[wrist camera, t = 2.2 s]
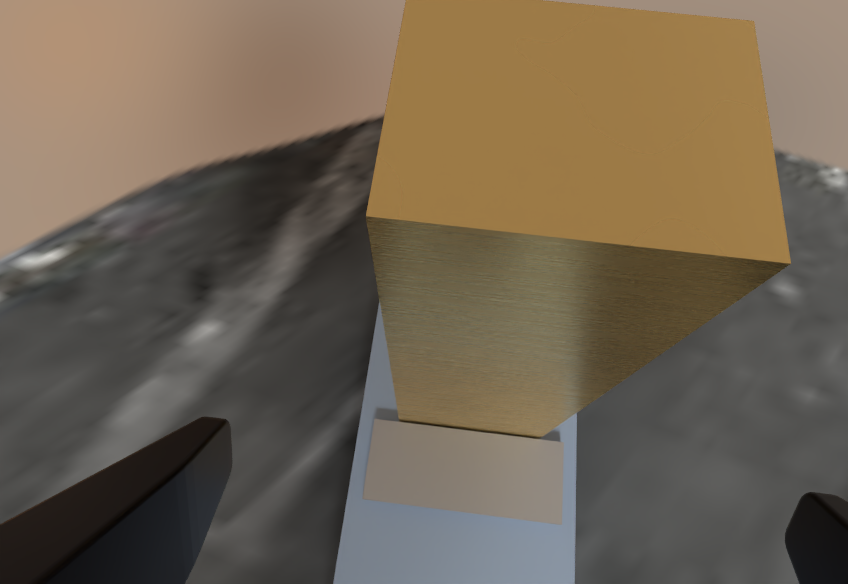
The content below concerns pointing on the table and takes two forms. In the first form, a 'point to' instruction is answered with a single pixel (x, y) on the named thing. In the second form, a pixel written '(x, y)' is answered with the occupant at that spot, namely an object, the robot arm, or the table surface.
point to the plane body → (454, 499)
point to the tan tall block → (562, 202)
